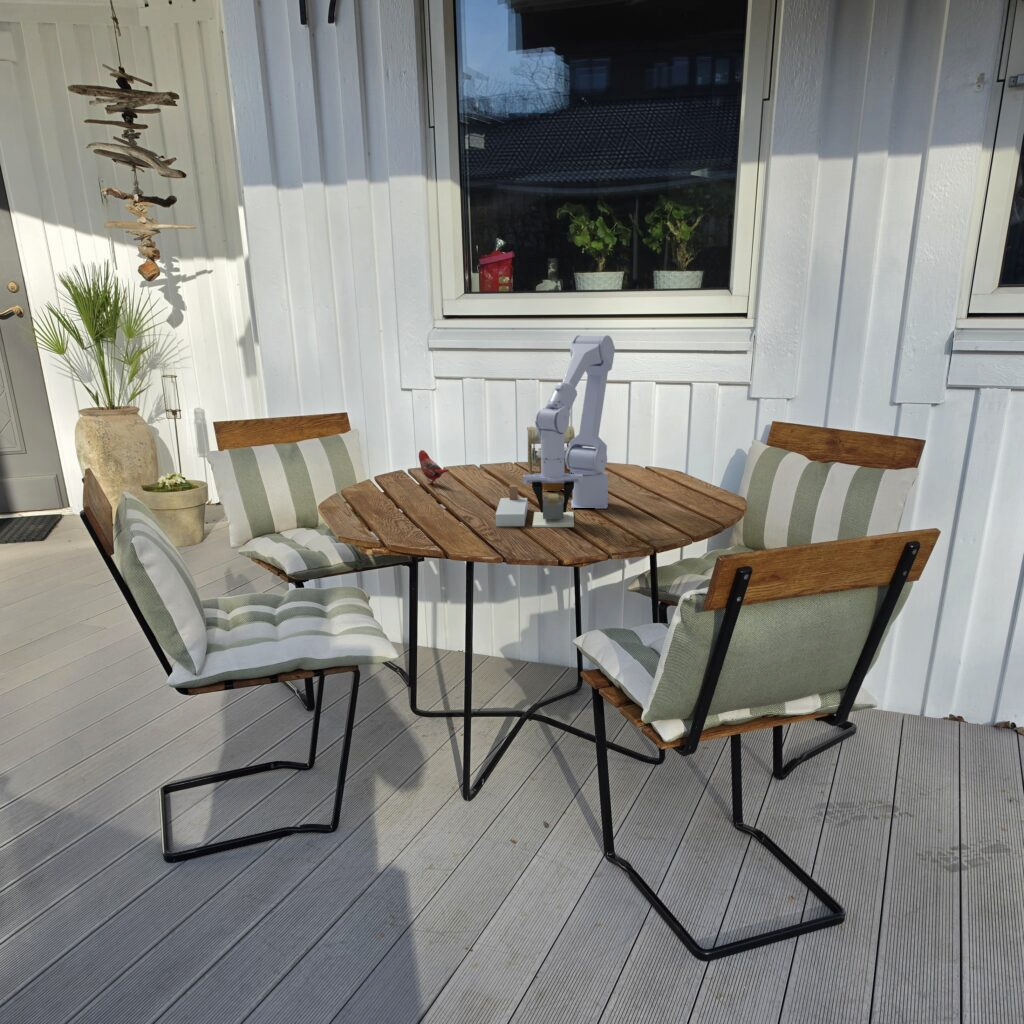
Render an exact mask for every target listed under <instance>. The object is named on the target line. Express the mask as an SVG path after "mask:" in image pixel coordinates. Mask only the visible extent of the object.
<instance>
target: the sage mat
mask: <svg viewBox="0 0 1024 1024" xmlns="http://www.w3.org/2000/svg"><path fill="white" fill-rule="evenodd" d="M574 517H575V516H574V511H566V512H564V519H543V513H541V512H540V511H534V512H533V521H532V525H531V526H532V528H574V527H575V523H574V521H575V520H574V519H575V518H574Z"/></svg>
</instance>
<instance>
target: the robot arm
mask: <svg viewBox="0 0 1024 1024" xmlns="http://www.w3.org/2000/svg"><path fill="white" fill-rule="evenodd" d="M570 343H571V344H570V346H569V352H570V360H569V363H568V365H567V368H566V372H565V374H564V377H563V379H562V382H558V383H557V384H556V385H555V387H554V389H553V391H552V392H551V395H550V397H549V399H548V401H547V404H546V405H545V407H543V408H541V409H540V410H539V411H538V412H537V413H536V414H537V415H536V417H535V421H534V425H535V427H536V428H537V430H538V437H539V439H541V444H540V448H541V474H531V475H529V474H523V476H522V479H523V482H522V483H523V485H528V484H531V488H532V491H533V493H534V495H535V497H536V500H537V502H538V506H539V510H540V511H539V512H541V513H543V498H544V495H543V493H544V491H543V483H564V490H563V512H567V509H568V507H567V506H568V503H569V500H570V497H571V494H572V499H571V500H570V506H571V509H572V508H573V509H574V508H595V509H608V508H609V507H608V503H609V499H610V498H609V493H608V491H609V490H608V488H609V486H608V485H609V483H608V482H609V479H608V472H603V471H605V469H606V466H607V464H608V453H607V451H608V445H607V444H606V443H605V442H604V440H603V439H602V438H600V436H599V435H600V429H601V423H602V416H603V415H602V414H603V408H604V403H605V402H604V401H605V395H606V388H607V380H608V375H609V372H610V371H612V369H613V364H614V359H615V358H614V357H615V352H616V350H615V348H616V347H615V344H614V341H613V339H612V337H611V336H610V335H608V334H607V335H578V334H577V335H575V336H574V337H573V339H572V341H571V342H570ZM585 372H586V374H587V378H586V384H585V391H584V396H583V397H584V399H583V403H582V406H583V407H582V413H581V419H580V426H579V432H578V434H577V435H575V438H573V439H572V440H571V441H570V443H569V448H568V450H567V452H566V456H565V462H566V465H567V468H568V469H569V471H570V473H565V471H564V447H565V443H564V432H565V431H566V430H567V428H568V426H569V427H570V417H571V409H572V407H573V405H574V402H575V401H576V398H577V396H578V390H577V389H576V387H577V386H578V384H579V383H580V381H581V379H582V378H583V375H584V374H585ZM571 473H572V474H571ZM607 507H608V508H607Z"/></svg>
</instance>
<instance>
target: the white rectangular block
mask: <svg viewBox="0 0 1024 1024" xmlns="http://www.w3.org/2000/svg"><path fill="white" fill-rule="evenodd" d="M508 488H509V491H508V492H509V497H501V498H500V499H499V501H498V502H499V503H498V506H497V508H496V512H495V527H525V524H526V519H527V514H528V507H529V505H528V497H519V493H518V492H519V491H518V484H509V487H508Z"/></svg>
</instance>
